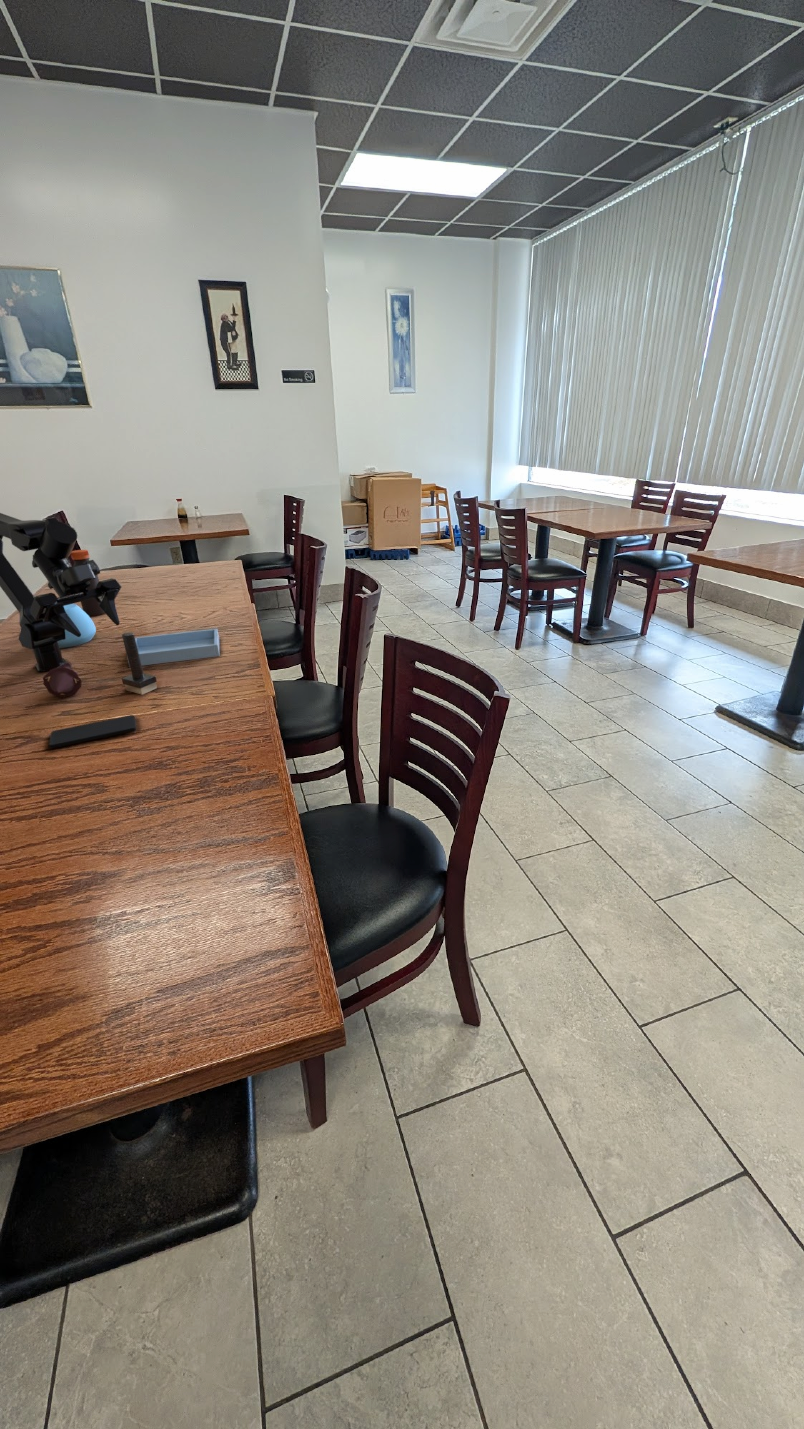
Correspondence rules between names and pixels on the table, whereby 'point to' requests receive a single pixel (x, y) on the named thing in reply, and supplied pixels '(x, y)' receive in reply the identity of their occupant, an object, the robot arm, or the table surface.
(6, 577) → the robot arm
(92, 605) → the bottle
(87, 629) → the sugar bowl
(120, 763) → the table surface
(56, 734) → the smartphone
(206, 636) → the tray
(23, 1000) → the table surface
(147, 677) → the brush
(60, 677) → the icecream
